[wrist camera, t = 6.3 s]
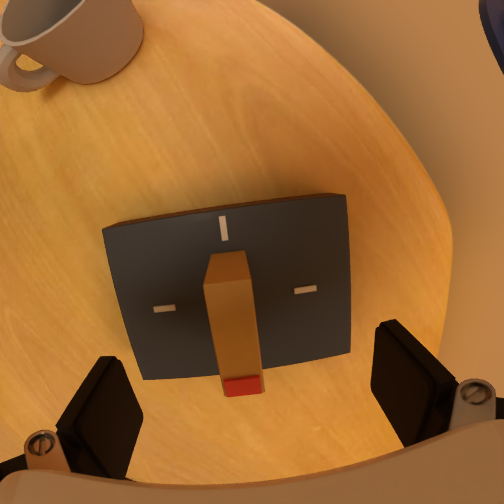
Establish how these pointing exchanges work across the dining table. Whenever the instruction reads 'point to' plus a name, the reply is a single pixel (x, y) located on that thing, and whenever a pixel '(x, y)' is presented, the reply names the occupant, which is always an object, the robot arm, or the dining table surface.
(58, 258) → the dining table surface
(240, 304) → the red-cornered brown block
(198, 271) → the plate
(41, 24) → the cup
